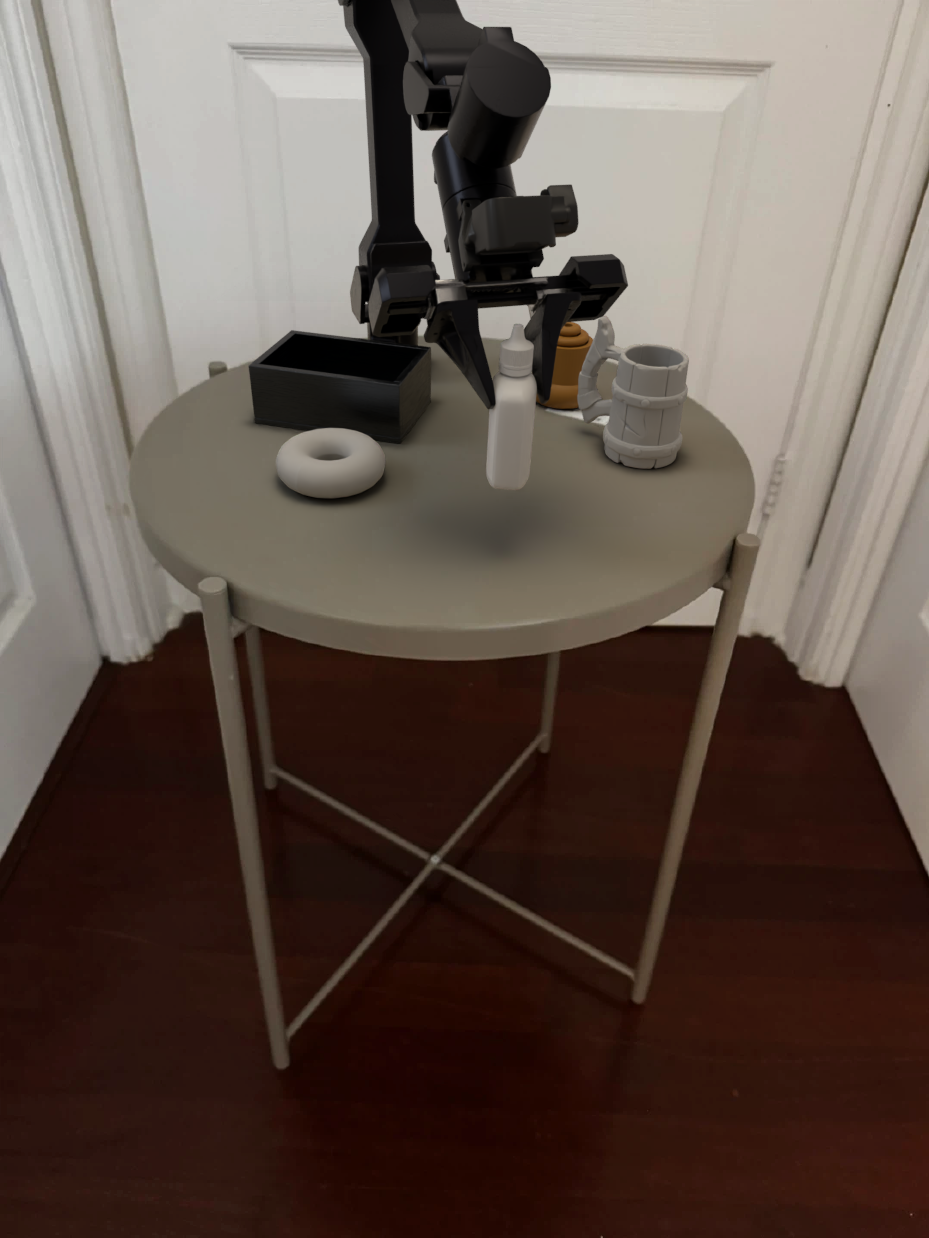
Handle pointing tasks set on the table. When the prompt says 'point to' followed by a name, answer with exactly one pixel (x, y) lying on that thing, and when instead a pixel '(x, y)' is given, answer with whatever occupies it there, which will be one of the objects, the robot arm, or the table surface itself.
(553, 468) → the table surface
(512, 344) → the eye dropper bottle
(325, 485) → the donut
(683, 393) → the mug
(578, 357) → the orange brown bell-shaped piece
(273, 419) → the black open box
